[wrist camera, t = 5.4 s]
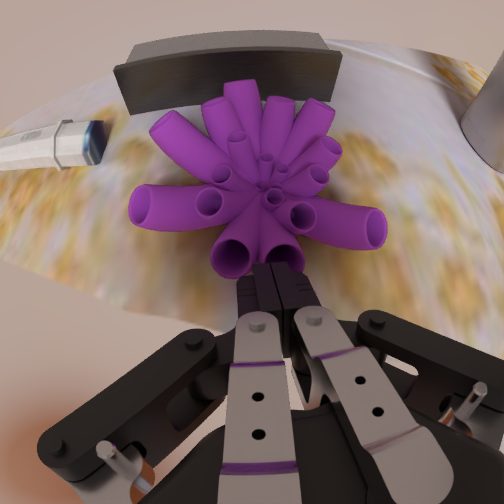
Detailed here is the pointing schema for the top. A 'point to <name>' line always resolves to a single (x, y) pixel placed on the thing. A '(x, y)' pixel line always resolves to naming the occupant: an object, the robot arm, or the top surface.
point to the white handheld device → (55, 146)
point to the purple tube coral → (255, 182)
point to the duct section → (226, 68)
